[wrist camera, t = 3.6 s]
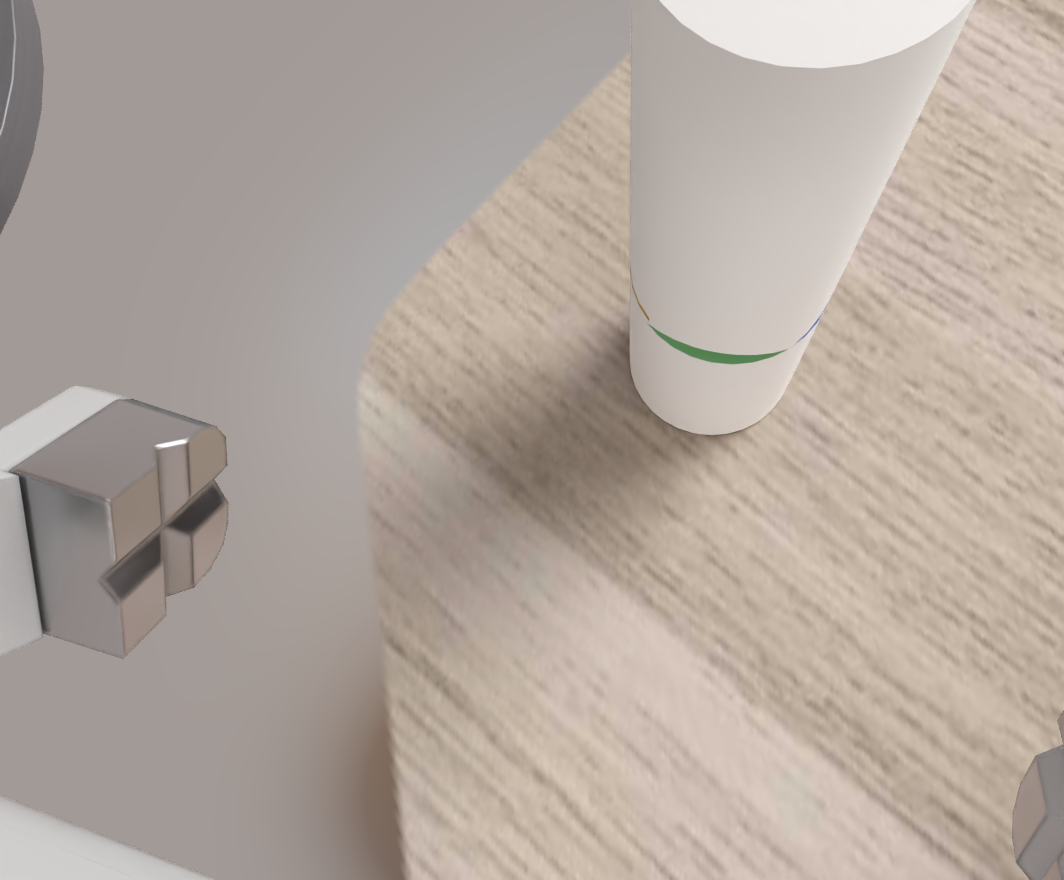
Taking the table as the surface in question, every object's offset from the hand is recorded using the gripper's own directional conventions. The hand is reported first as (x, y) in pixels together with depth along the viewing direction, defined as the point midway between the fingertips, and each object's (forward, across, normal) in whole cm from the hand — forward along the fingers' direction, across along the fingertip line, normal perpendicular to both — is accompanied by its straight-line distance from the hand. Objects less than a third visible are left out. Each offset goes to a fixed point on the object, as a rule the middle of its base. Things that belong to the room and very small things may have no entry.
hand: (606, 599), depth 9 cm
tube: (+17, 0, +5) cm, 18 cm away
